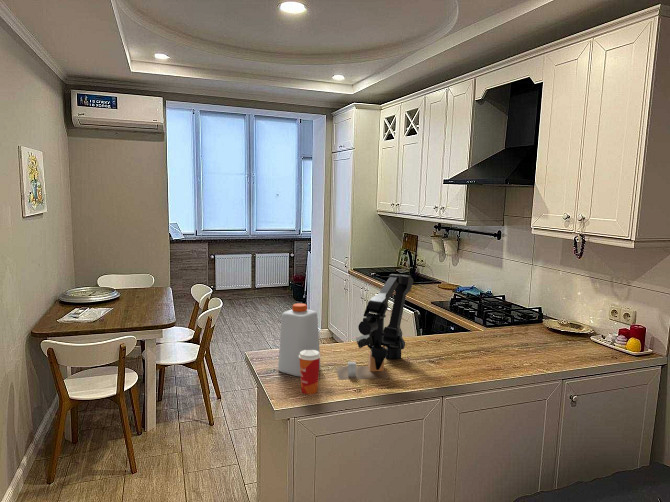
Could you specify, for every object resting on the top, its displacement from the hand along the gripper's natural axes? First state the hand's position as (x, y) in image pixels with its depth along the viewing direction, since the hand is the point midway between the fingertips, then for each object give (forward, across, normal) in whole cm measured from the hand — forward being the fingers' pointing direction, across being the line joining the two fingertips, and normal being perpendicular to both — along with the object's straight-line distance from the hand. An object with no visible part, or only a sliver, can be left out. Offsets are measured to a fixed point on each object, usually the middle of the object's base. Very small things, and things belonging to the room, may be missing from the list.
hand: (375, 365), depth 195 cm
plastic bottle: (+3, -3, -32) cm, 32 cm away
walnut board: (+2, +4, -6) cm, 8 cm away
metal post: (+1, +8, -11) cm, 14 cm away
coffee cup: (+3, +19, -28) cm, 34 cm away
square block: (+1, 0, 0) cm, 1 cm away
